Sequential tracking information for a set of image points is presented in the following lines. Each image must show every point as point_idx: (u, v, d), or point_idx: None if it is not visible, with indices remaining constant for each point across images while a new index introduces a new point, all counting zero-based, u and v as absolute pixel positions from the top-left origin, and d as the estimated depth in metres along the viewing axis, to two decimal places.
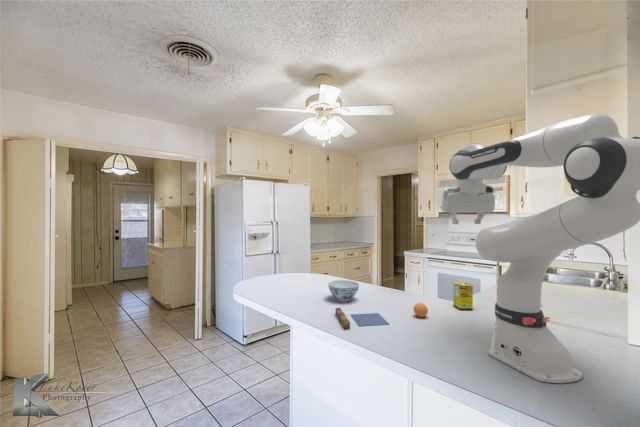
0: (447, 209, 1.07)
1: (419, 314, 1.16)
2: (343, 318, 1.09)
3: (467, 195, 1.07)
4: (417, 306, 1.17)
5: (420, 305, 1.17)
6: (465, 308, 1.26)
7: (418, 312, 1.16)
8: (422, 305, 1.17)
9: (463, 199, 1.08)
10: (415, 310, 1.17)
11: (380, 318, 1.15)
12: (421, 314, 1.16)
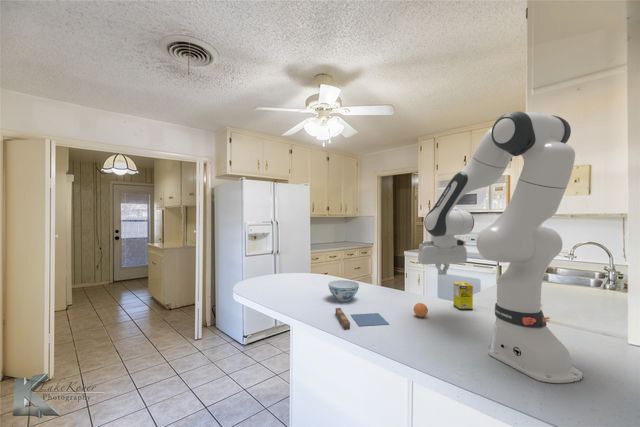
0: (423, 261, 1.16)
1: (419, 314, 1.16)
2: (343, 318, 1.09)
3: (440, 248, 1.17)
4: (417, 306, 1.17)
5: (420, 305, 1.17)
6: (465, 308, 1.26)
7: (418, 312, 1.16)
8: (422, 305, 1.17)
9: (437, 251, 1.18)
10: (415, 310, 1.17)
11: (380, 318, 1.15)
12: (421, 314, 1.16)
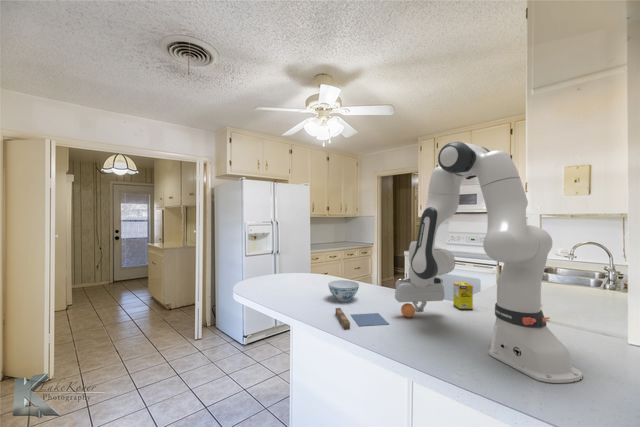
0: (399, 299, 1.16)
1: (410, 316, 1.16)
2: (343, 318, 1.09)
3: (417, 286, 1.16)
4: (403, 312, 1.17)
5: (404, 309, 1.16)
6: (465, 308, 1.26)
7: (408, 316, 1.16)
8: (405, 308, 1.16)
9: (414, 289, 1.17)
10: (405, 316, 1.17)
11: (380, 318, 1.15)
12: (411, 315, 1.16)
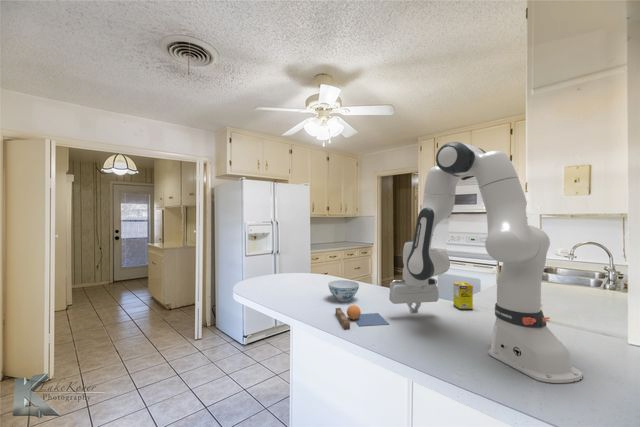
0: (393, 301, 1.15)
1: (358, 310, 1.13)
2: (343, 318, 1.09)
3: (411, 287, 1.15)
4: (358, 317, 1.15)
5: (356, 318, 1.14)
6: (465, 308, 1.26)
7: (359, 312, 1.13)
8: (354, 319, 1.14)
9: (408, 290, 1.16)
10: (360, 312, 1.15)
11: (380, 318, 1.15)
12: (356, 311, 1.13)
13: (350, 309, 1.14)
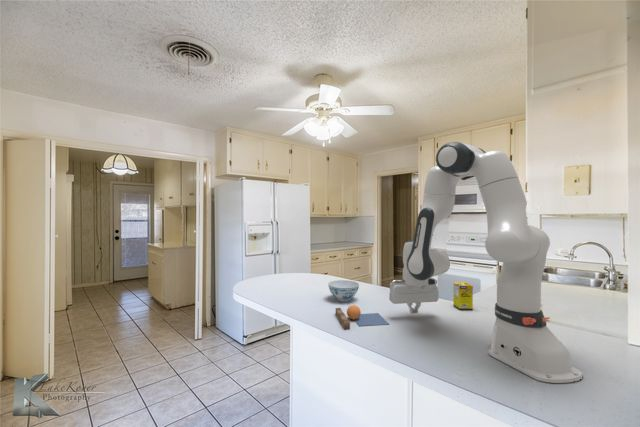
0: (393, 301, 1.15)
1: (358, 310, 1.13)
2: (343, 318, 1.09)
3: (411, 287, 1.15)
4: (358, 317, 1.15)
5: (356, 318, 1.14)
6: (465, 308, 1.26)
7: (359, 312, 1.13)
8: (354, 319, 1.14)
9: (408, 290, 1.16)
10: (360, 312, 1.15)
11: (380, 318, 1.15)
12: (356, 311, 1.13)
13: (350, 309, 1.14)
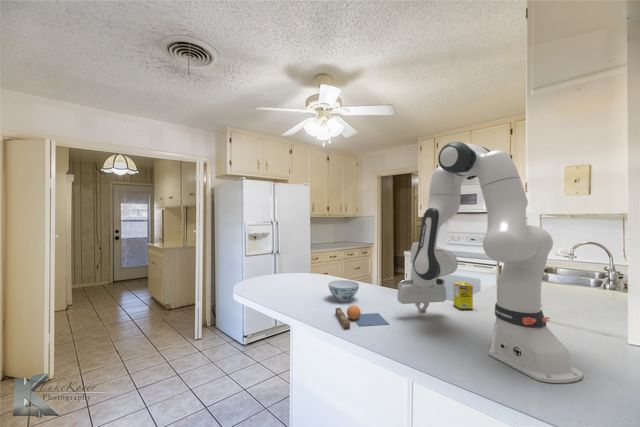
0: (402, 301, 1.15)
1: (358, 310, 1.13)
2: (343, 318, 1.09)
3: (419, 287, 1.15)
4: (358, 317, 1.15)
5: (356, 318, 1.14)
6: (465, 308, 1.26)
7: (359, 312, 1.13)
8: (354, 319, 1.14)
9: (417, 290, 1.16)
10: (360, 312, 1.15)
11: (380, 318, 1.15)
12: (356, 311, 1.13)
13: (350, 309, 1.14)
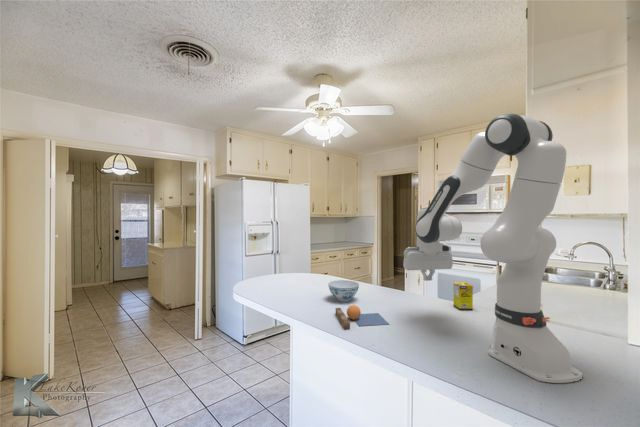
0: (408, 267, 1.15)
1: (358, 310, 1.13)
2: (343, 318, 1.09)
3: (425, 254, 1.16)
4: (358, 317, 1.15)
5: (356, 318, 1.14)
6: (465, 308, 1.26)
7: (359, 312, 1.13)
8: (354, 319, 1.14)
9: (423, 257, 1.17)
10: (360, 312, 1.15)
11: (380, 318, 1.15)
12: (356, 311, 1.13)
13: (350, 309, 1.14)
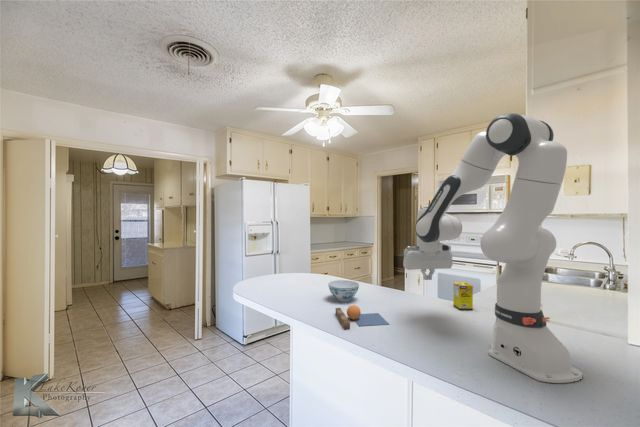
0: (407, 266, 1.15)
1: (358, 310, 1.13)
2: (343, 318, 1.09)
3: (425, 253, 1.16)
4: (358, 317, 1.15)
5: (356, 318, 1.14)
6: (465, 308, 1.26)
7: (359, 312, 1.13)
8: (354, 319, 1.14)
9: (422, 256, 1.17)
10: (360, 312, 1.15)
11: (380, 318, 1.15)
12: (356, 311, 1.13)
13: (350, 309, 1.14)
